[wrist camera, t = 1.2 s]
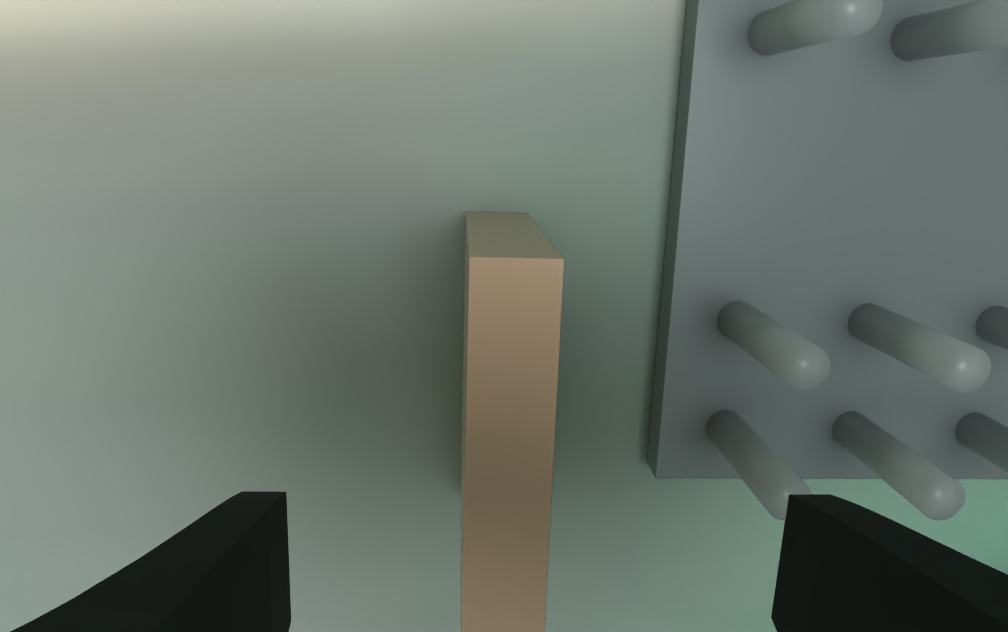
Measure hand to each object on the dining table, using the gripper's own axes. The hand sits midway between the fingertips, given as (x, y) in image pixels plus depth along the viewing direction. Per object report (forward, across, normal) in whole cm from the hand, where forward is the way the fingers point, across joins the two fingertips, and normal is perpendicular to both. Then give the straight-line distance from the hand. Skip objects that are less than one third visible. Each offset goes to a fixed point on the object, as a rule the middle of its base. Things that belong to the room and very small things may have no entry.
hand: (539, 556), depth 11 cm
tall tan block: (+10, 0, 0) cm, 10 cm away
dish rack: (+10, -11, -5) cm, 16 cm away
